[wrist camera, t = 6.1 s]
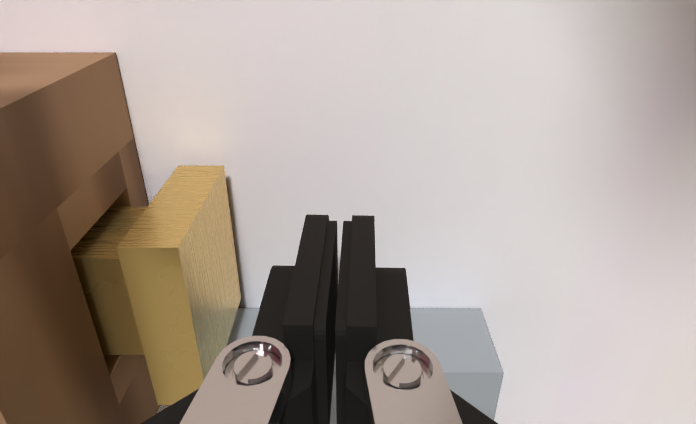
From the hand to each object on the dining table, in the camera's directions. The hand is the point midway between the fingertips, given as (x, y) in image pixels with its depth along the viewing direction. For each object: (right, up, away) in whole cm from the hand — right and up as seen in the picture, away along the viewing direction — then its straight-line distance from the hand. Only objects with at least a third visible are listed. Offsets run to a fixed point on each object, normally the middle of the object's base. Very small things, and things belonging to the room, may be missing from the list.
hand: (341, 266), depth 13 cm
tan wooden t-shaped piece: (-7, +1, +2) cm, 7 cm away
